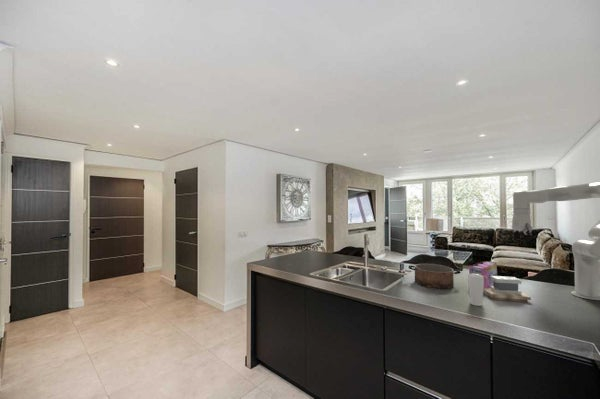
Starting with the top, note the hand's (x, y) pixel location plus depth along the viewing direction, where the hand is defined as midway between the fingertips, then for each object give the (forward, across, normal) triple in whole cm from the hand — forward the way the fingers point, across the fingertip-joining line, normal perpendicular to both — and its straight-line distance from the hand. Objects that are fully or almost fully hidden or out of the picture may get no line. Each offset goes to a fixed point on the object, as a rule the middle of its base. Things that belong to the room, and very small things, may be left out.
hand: (522, 240), depth 152 cm
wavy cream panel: (+30, +14, -16) cm, 37 cm away
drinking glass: (+31, +28, -36) cm, 55 cm away
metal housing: (+27, +14, -16) cm, 35 cm away
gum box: (+31, -7, -18) cm, 36 cm away
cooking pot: (+31, -4, -48) cm, 57 cm away
